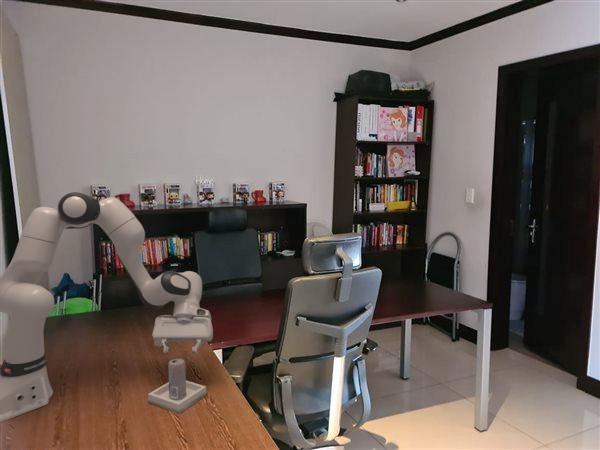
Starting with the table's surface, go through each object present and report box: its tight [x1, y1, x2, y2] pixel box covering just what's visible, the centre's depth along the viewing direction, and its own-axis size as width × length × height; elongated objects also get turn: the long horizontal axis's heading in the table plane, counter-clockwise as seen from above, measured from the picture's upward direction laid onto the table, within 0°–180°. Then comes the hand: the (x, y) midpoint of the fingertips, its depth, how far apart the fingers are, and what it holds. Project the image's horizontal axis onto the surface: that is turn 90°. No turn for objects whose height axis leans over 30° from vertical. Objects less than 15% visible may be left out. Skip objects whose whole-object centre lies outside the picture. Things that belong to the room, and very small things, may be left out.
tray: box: [147, 379, 207, 414], centre depth 151 cm, size 13×13×3 cm
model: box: [153, 339, 170, 347], centre depth 198 cm, size 3×11×8 cm, turn 161°
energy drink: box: [167, 357, 187, 400], centre depth 150 cm, size 5×5×12 cm
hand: (180, 352), depth 154 cm, fingers open, 8 cm apart
